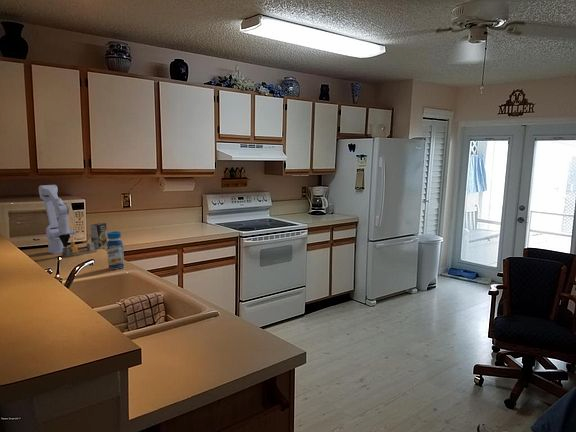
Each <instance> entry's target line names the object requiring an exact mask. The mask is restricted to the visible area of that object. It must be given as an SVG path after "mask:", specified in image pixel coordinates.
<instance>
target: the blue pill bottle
mask: <svg viewBox="0 0 576 432" xmlns="http://www.w3.org/2000/svg"><path fill="white" fill-rule="evenodd" d="M121 238H122V235H121V231H117V230H116V231H108V232H107V242H108V243H107V247H106V248H107V249H106V252H107V253H106V254H107V263H108V269H109V268H110V269H109V270H111V269H117V270H119V269H118V268H122V267H124V268H125V259H124V258H125V256H124V255H125V254H124V250H125V249H124V247H123V241H122V240H121ZM122 269H123V268H122Z"/></svg>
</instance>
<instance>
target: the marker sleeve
mask: <svg viewBox="0 0 576 432" xmlns="http://www.w3.org/2000/svg"><path fill="white" fill-rule="evenodd" d="M75 243H76V242H75V241H73V240H71V241H70V245H69V246H68V245H67V248H71V249H72V251H73V253H77V252H78V251H79V249H78V247H79V246H78V245H76V244H75Z"/></svg>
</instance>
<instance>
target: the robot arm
mask: <svg viewBox="0 0 576 432" xmlns="http://www.w3.org/2000/svg"><path fill="white" fill-rule="evenodd" d="M58 190H59V189H58V186H57V185H56V184H47V185H46V184H45V185H39V186H38V194H39V198H40V200H43V202H44V205H45V206H44V207H45V211H46V214H47V219H48V224H49V225H47V227H46V228H45V235H46V238H47V240H48V242H47V245H48V247H47V248H48V251H47V253H49V254H52V255H56V254H57V255H58V254H63V251H62V248H65V247H67V248H68V243H69V241H70V238H71V235H77V233H78V231H77V230H70V227H69V226H70V225H69V214H70V209H69V206H68V205H67V204H65V203H64V202H63V200H62V198H60V197H59V196H58Z"/></svg>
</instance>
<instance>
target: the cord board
mask: <svg viewBox="0 0 576 432" xmlns="http://www.w3.org/2000/svg"><path fill="white" fill-rule="evenodd" d="M85 244H86V245H85V246H80V247H79V246H78V252H77V253H73V251H72V249H71V248H68V246H67V247H63V248H62V251H63V252H62V253H61V256H63V257H66V258H73V257H77V256H83V255H87V254H93V252H94V253H97V251H98V249H97V250H96V249H95V246H94V243H92V242H91V241H89V242H86V243H85Z"/></svg>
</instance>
